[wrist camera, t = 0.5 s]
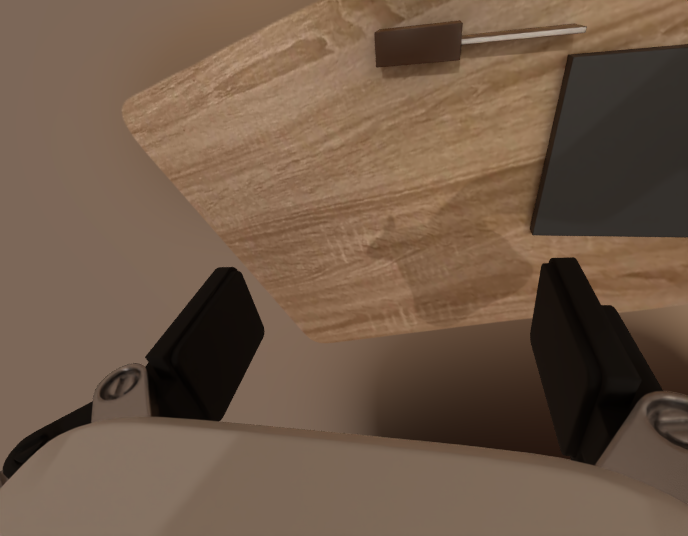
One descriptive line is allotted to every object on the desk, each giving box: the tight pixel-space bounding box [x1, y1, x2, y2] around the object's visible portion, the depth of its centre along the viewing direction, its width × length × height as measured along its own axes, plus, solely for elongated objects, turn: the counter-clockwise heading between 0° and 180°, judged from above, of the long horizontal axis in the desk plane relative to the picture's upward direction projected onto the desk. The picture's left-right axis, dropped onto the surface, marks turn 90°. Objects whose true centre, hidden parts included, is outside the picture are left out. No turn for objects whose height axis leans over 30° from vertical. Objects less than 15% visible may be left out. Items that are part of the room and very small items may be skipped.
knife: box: [375, 20, 587, 67], centre depth 30 cm, size 16×3×3 cm, turn 96°
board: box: [530, 44, 688, 237], centre depth 34 cm, size 17×15×2 cm
